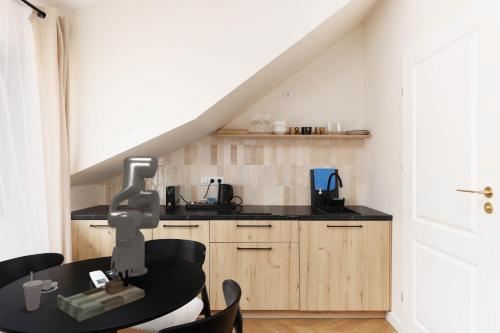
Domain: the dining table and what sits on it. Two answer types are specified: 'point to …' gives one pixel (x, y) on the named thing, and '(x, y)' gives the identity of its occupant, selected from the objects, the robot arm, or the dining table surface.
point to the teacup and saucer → (49, 285)
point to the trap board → (97, 301)
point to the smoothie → (32, 293)
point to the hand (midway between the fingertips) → (124, 285)
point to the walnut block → (114, 286)
